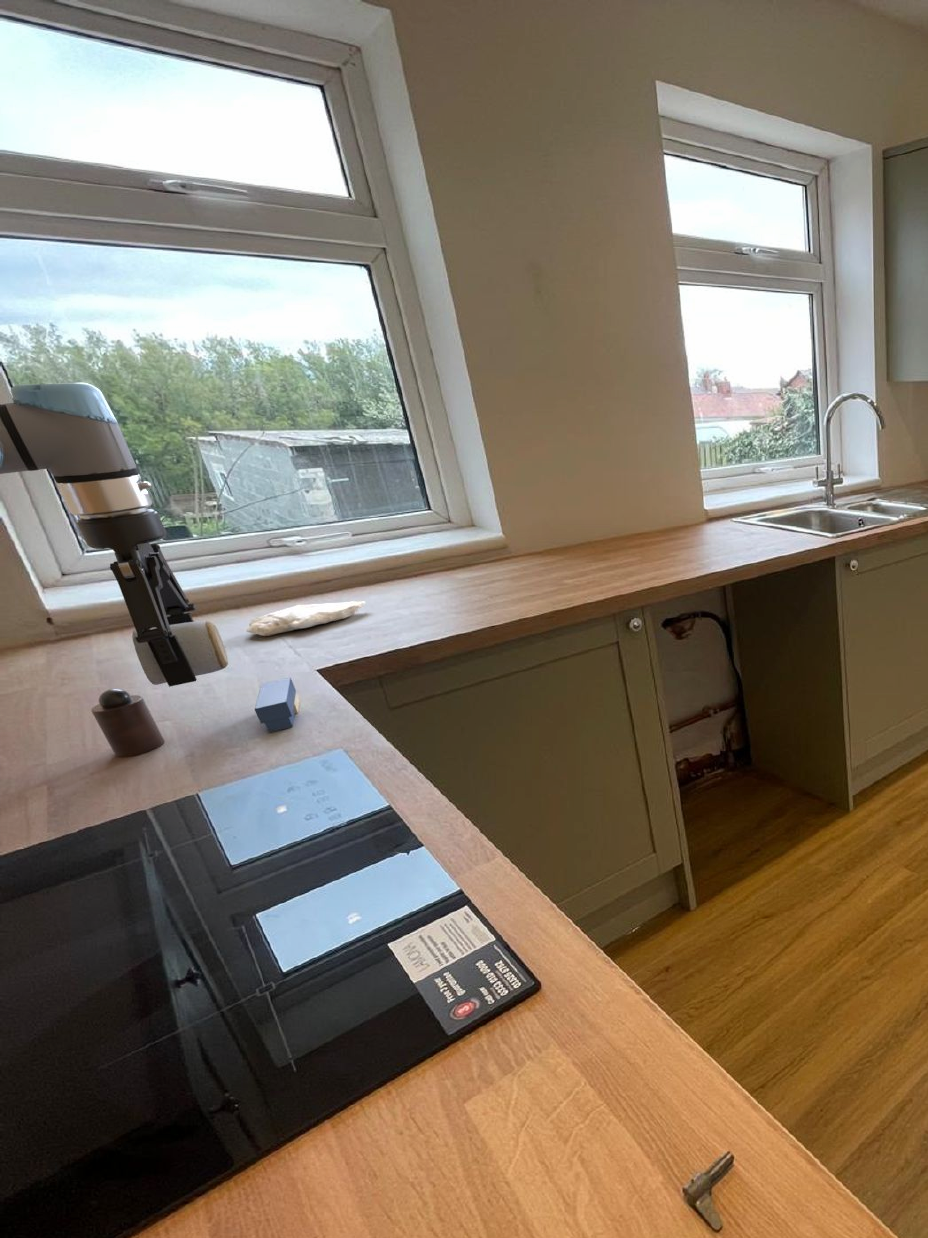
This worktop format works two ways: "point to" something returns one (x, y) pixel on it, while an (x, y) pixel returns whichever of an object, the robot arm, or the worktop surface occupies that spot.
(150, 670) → the white canister
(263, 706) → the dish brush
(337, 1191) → the worktop surface
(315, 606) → the rock
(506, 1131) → the worktop surface
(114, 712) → the pepper mill
